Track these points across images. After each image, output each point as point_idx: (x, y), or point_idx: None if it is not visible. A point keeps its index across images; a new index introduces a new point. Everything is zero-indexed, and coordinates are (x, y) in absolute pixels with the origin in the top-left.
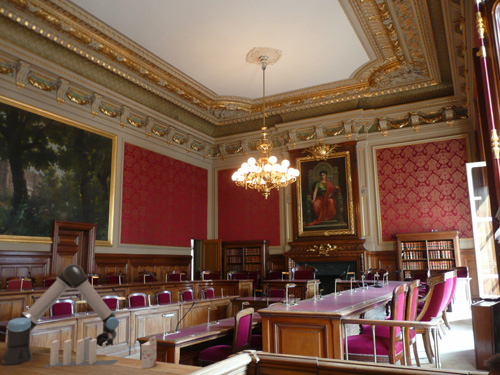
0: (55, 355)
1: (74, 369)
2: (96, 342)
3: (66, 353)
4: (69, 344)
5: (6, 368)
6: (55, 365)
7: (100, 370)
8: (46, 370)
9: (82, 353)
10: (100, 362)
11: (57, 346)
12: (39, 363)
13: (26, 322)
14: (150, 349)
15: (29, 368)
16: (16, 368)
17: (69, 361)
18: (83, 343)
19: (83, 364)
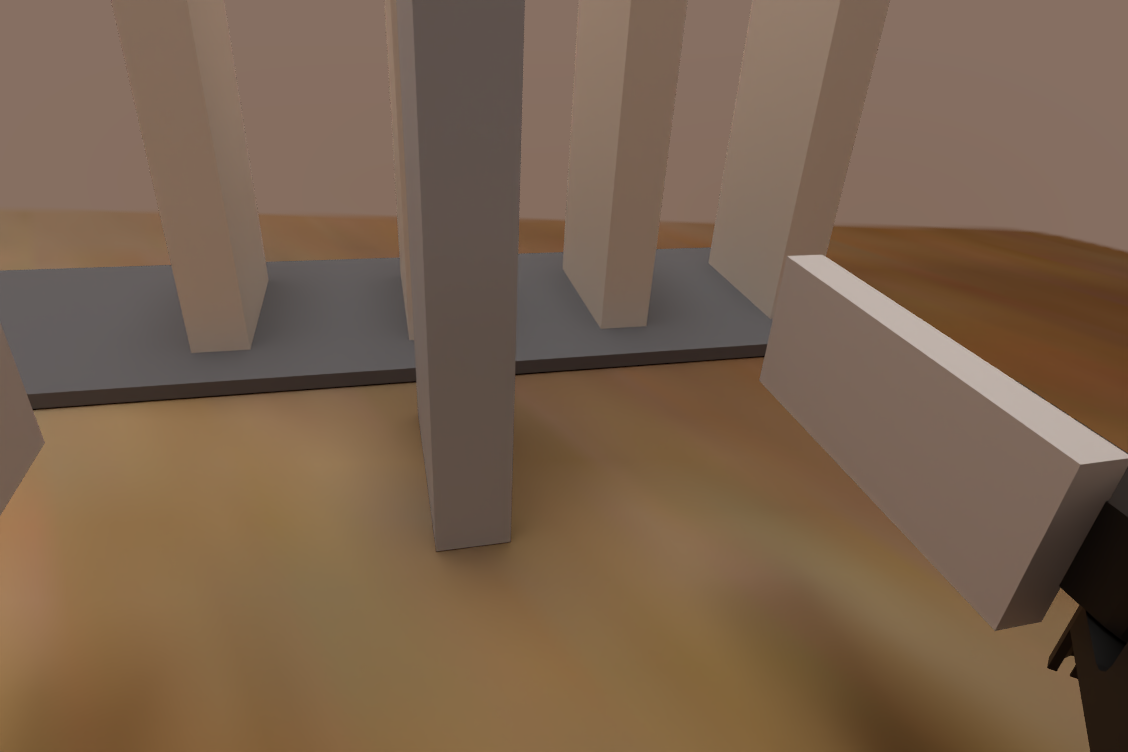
0: (747, 174)
1: (380, 228)
2: (115, 7)
3: (572, 129)
4: (602, 26)
5: (1115, 253)
6: (684, 264)
7: (74, 210)
8: None
9: (398, 187)
10: (101, 320)
11: (796, 68)
12: (1043, 338)
13: None
14: None
15: (890, 249)
16: (1019, 251)
17: (588, 286)
18: (390, 24)
19: (343, 277)
